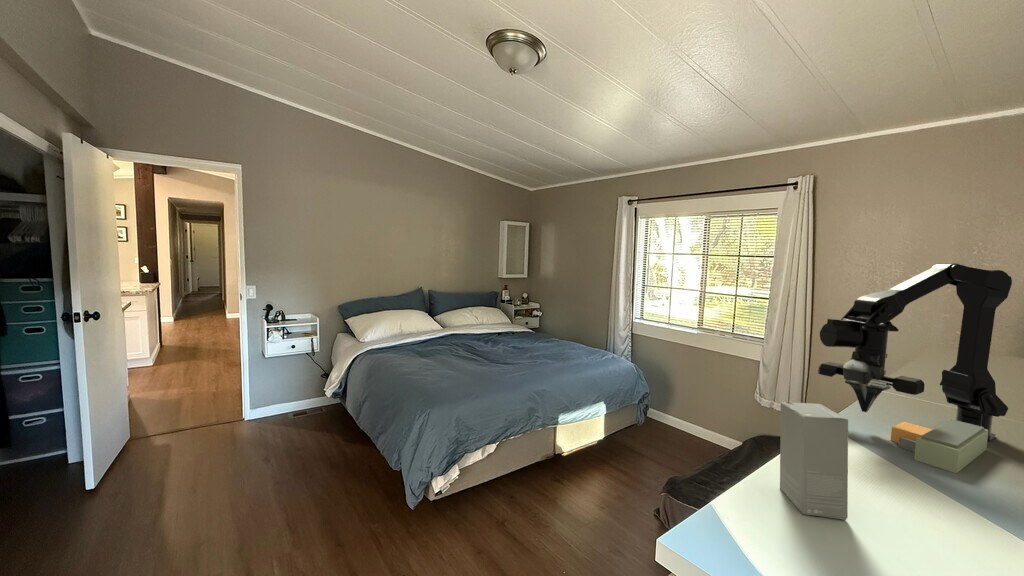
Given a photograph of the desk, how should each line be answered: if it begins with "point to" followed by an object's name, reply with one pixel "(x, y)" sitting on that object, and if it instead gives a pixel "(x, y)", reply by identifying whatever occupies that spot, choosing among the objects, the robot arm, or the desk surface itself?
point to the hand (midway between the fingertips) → (864, 411)
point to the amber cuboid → (907, 431)
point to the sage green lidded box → (949, 445)
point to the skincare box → (814, 459)
